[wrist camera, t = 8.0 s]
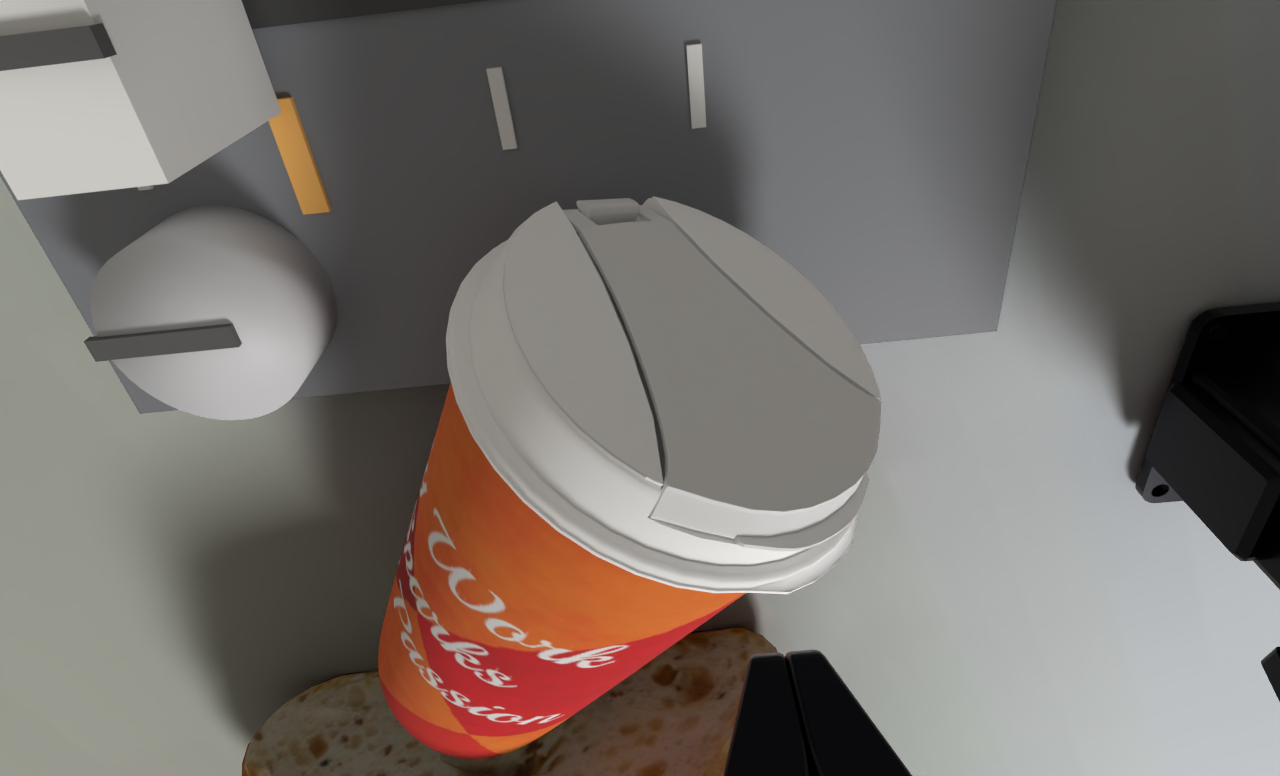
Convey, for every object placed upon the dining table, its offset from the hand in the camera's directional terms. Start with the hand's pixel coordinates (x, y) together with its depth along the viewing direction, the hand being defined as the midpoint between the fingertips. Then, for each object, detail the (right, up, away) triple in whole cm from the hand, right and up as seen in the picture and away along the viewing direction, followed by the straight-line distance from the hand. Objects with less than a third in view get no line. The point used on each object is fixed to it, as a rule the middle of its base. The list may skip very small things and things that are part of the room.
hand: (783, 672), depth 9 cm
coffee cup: (-7, -5, +14) cm, 16 cm away
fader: (-10, +10, +5) cm, 16 cm away
